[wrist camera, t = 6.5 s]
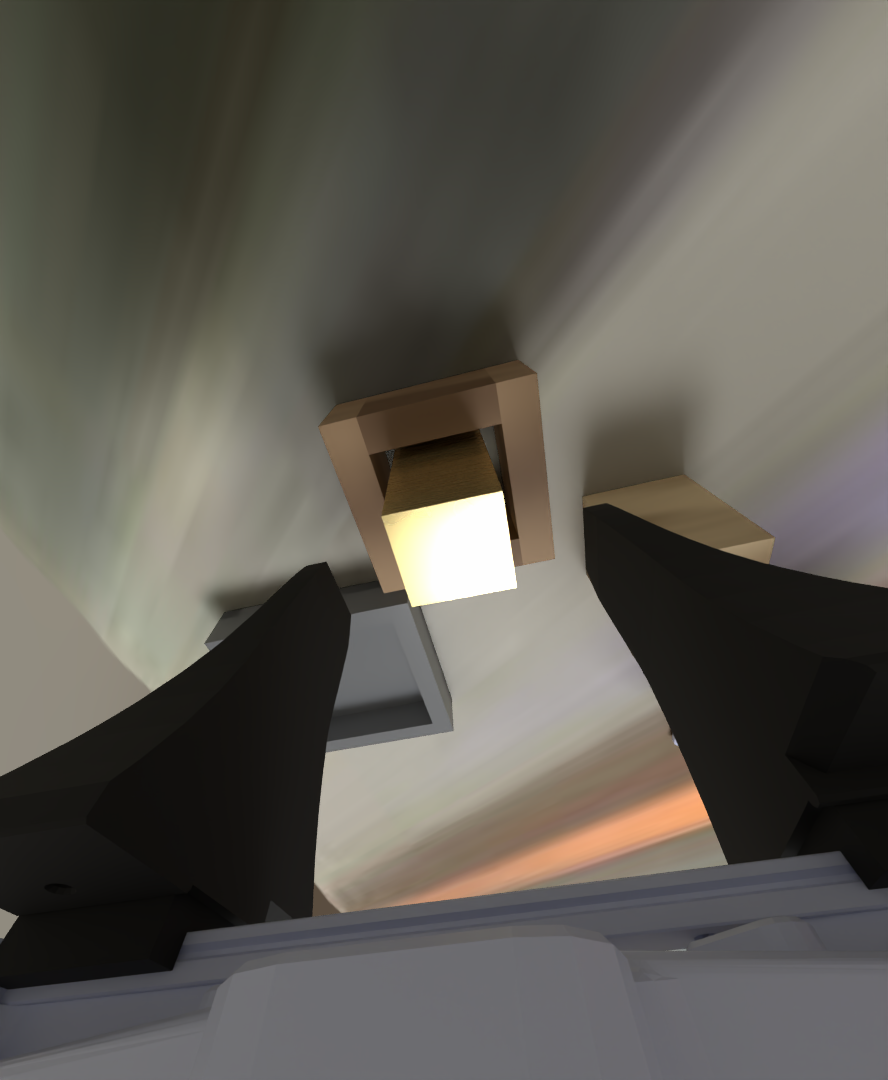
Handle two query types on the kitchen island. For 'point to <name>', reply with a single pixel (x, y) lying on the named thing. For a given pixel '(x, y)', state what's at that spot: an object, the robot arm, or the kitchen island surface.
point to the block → (690, 515)
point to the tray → (378, 671)
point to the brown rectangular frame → (437, 413)
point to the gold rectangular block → (448, 520)
